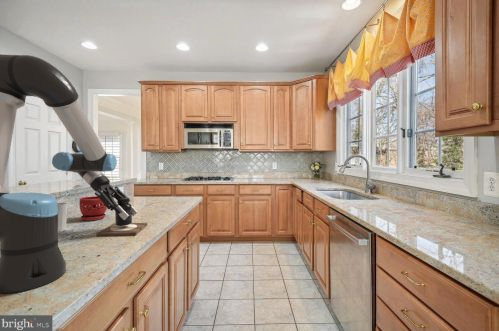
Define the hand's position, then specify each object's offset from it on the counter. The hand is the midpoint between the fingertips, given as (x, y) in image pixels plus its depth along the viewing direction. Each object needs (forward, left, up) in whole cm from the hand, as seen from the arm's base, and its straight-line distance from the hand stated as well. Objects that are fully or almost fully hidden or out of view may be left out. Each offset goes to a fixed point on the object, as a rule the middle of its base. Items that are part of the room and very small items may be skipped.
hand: (131, 215), depth 110 cm
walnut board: (+1, +3, -7) cm, 8 cm away
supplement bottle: (+1, +3, -4) cm, 6 cm away
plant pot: (+25, +28, -7) cm, 38 cm away
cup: (+5, +34, -7) cm, 35 cm away
